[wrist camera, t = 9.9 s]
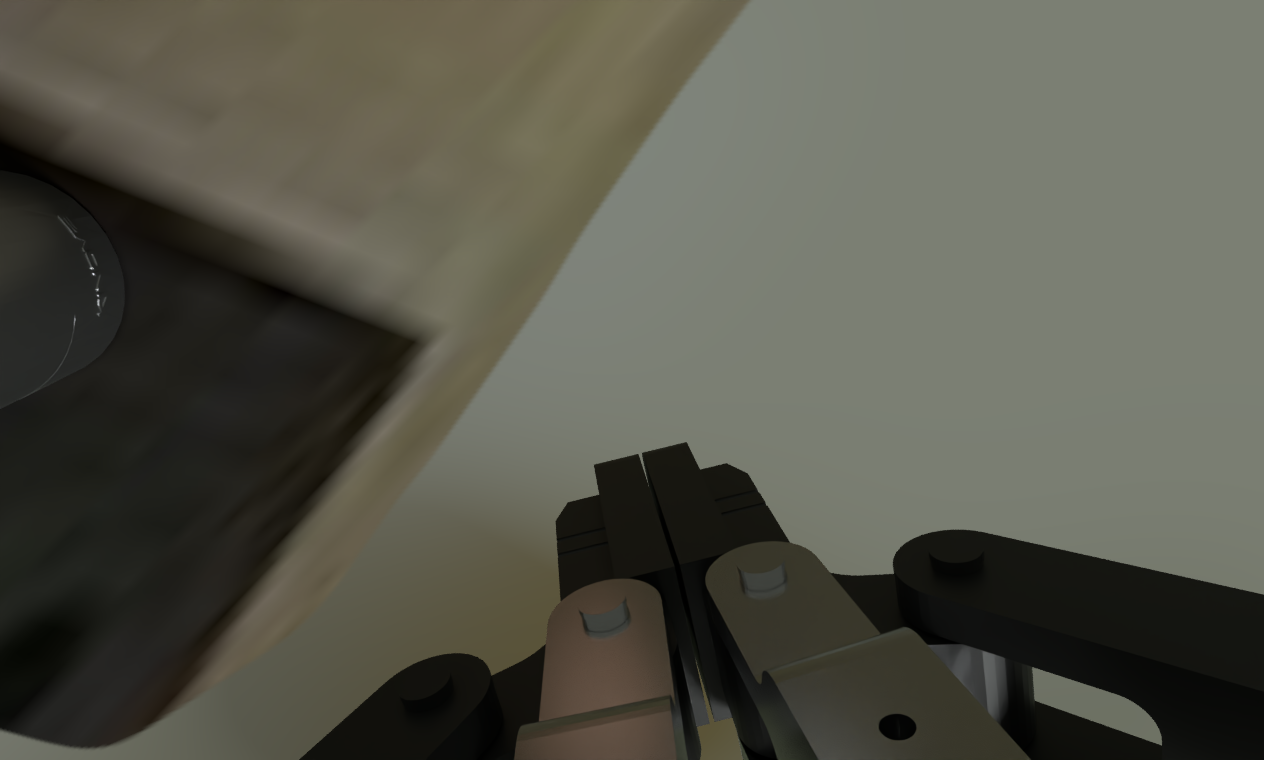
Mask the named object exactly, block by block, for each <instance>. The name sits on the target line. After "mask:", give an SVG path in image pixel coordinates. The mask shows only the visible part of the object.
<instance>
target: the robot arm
mask: <svg viewBox="0 0 1264 760" xmlns="http://www.w3.org/2000/svg"><path fill="white" fill-rule="evenodd" d="M124 303H125V292H124V278H123V274H122V271H121V267H120V263H119V260H118V256H117V255H116V253H115V251H114V249H113V247H112V245H111V243H110V241H109V239H108V237H107V235H106V234H105V232H104V231H103V230H102V229H101V227H100V226H99V225H98V223H97V222H96V221H95V219H94V218H93V217H92V216H91V215H90V214H89V213H88V212H87V211H86V210H85V209H84V208H83V207H81V206H80V205H79V204H78V203H77V202H76V201H75V200H74V199H73V198H71V197H69V196H68V195H66V194H65V193H63V192H61V191H60V190H58V189H57V188H55V187H53V186H52V185H50V184H48V183H45V182H43V181H40V180H38V179H35V178H33V177H30V176H28V175H23V174H18V173H13V172H8V171H3V170H0V409H1V408H3V407H5V406H7V405H9V404H11V403H13V402H15V401H17V400H19V399H22V398H24V397H26V396H28V395H30V394H32V393H34V392H36V391H38V390H40V389H42V388H44V387H46V386H48V385H50V384H52V383H54V382H56V381H58V380H60V379H62V378H64V377H66V376H68V375H70V374H72V373H74V372H76V371H78V370H80V369H82V368H84V367H86V366H87V365H88V364H90V363H91V362H92V361H93V360H95V359H96V358H97V357H99V356H100V355H101V354H102V353H103V352H104V350H105V349H106V348H107V346H108V345H109V344H110V343H111V341H112V340H113V339H114V336H115V334H116V332H117V330H118V327H119V325H120V323H121V320H122V315H123V309H124ZM642 457H643V461H644V466H645V471H646V476H647V479H646V476H645V473H644V470H643V467H642V464H641V461H640V458H639V455H638V454H636V455H632V456H628V457H624V458H620V459H616V460H611V461H607V462H603V463H599V464H595V465H594V468H595V474H596V479H597V485H598V490H599V495H596V496H593V497H588V498H584V499H580V500H576V501H572V502H568V503H567V505H566V506H565V508H564V509H563V511H562V512H561V514H560V515H559V517H558V518H557V520H556V535H557V551H558V567H559V582H560V597H561V602H560V603H559V604H558V605H557V606H556V607H555V609H554V610H553V611H552V613H551V615H550V617H549V620H548V627H547V638H546V644H545V645H544V646H543V647H542V648H540V649H539V650H538V651H537V652H535V653H534V654H532V655H531V656H530V657H528V658H526V659H525V660H523V661H521V662H519V663H517V664H515V665H513V666H511V667H509V668H507V669H505V670H503V671H501V672H499V673H496V674H495V675H492V676H491V673H490V670H489V668H488V666H487V665H486V664H485V662H484V661H483V660H481V659H479V658H478V657H475V656H472V655H469V654H461V653H453V654H444V655H439V656H435V657H431V658H428V659H425V660H422V661H420V662H417V663H415V664H413V665H411V666H409V667H407V668H406V669H404V670H402V671H400V672H399V673H398V674H396V675H394V676H393V677H392V678H391V679H389V680H388V681H387V682H386V683H385V684H383V685H382V686H381V687H380V688H379V689H378V690H377V691H376V692H374V693H373V694H372V695H371V696H370V697H369V698H368V699H367V700H365V701H364V702H363V703H362V704H361V705H360V706H359V707H358V708H357V709H355V710H354V711H353V712H352V713H351V714H350V715H349V716H348V717H346V718H345V719H344V720H343V721H342V722H341V723H340V724H339V725H338V726H336V727H335V728H334V729H333V730H332V731H331V732H330V733H329V734H327V735H326V736H325V737H324V738H323V739H322V740H321V741H320V742H319V743H317V744H316V745H315V746H314V747H313V748H312V749H311V750H309V751H308V752H307V753H306V754H305V755H304V756H303V757H302V758H300V759H299V760H700V757H701V744H700V739H699V734H698V730H697V727H698V726H702V725H706V724H709V718H708V714H707V710H706V705H705V701H704V696H703V692H702V687H701V683H700V678H699V674H698V669H699V672H700V675H701V679H702V682H703V685H704V689H705V692H706V695H707V698H708V701H709V705H710V708H711V711H712V715H713V718H714V721H715V722H716V721H720V720H723V719H727V718H731V717H732V718H733V721H734V724H735V727H736V730H737V734H738V739H739V743H740V748H741V753H742V758H743V760H1264V595H1263V594H1258V593H1254V592H1249V591H1245V590H1240V589H1236V588H1231V587H1227V586H1222V585H1218V584H1213V583H1209V582H1204V581H1200V580H1195V579H1191V578H1186V577H1182V576H1177V575H1173V574H1168V573H1164V572H1159V571H1155V570H1150V569H1146V568H1141V567H1137V566H1133V565H1128V564H1124V563H1119V562H1115V561H1110V560H1106V559H1101V558H1097V557H1092V556H1088V555H1083V554H1078V553H1074V552H1069V551H1065V550H1060V549H1055V548H1051V547H1047V546H1043V545H1038V544H1033V543H1029V542H1024V541H1019V540H1016V539H1011V538H1006V537H1002V536H998V535H993V534H988V533H984V532H978V531H971V530H943V531H937V532H931V533H928V534H924V535H921V536H919V537H916V538H914V539H912V540H910V541H909V542H907V543H905V544H904V545H903V546H902V547H900V549H899V550H898V551H897V552H896V554H895V556H894V559H893V569H894V574H884V575H864V576H851V575H840V574H834V573H830V572H829V571H828V570H827V568H826V567H825V566H824V565H823V564H822V562H821V561H820V560H819V559H818V558H817V556H816V555H815V554H813V553H812V552H811V551H810V550H808V549H806V548H804V547H802V546H800V545H796V544H793V543H790V542H789V540H788V539H787V537H786V535H785V534H784V532H783V530H782V529H781V527H780V525H779V524H778V522H777V521H776V519H775V517H774V516H773V514H772V512H771V511H770V509H769V508H768V506H766V504H765V501H764V499H763V498H762V496H761V494H760V493H759V492H758V490H757V488H756V486H755V485H754V483H753V482H752V480H751V478H750V477H749V475H748V474H747V473H745V472H743V471H741V470H739V469H737V468H735V467H733V466H731V465H728V464H727V463H726V464H722V465H718V466H714V467H709V468H705V469H701V470H700V469H699V467H698V465H697V463H696V461H695V459H694V456H693V454H692V452H691V450H690V448H689V446H688V444H687V442H685V443H681V444H676V445H673V446H668V447H665V448H660V449H656V450H652V451H648V452H644V453H642ZM647 480H648V482H647ZM648 484H649V486H648ZM695 659H696V660H695ZM696 662H697V665H696ZM697 666H698V669H697ZM1032 667H1034V668H1038V669H1040V670H1043V671H1046V672H1050V673H1053V674H1056V675H1059V676H1062V677H1065V678H1068V679H1071V680H1074V681H1078V682H1080V683H1083V684H1086V685H1090V686H1093V687H1096V688H1099V689H1102V690H1105V691H1108V692H1111V693H1114V694H1117V695H1120V696H1122V697H1125V698H1127V699H1129V700H1131V701H1133V702H1134V703H1136V704H1137V705H1139V706H1140V707H1141V708H1142V709H1144V710H1145V711H1146V712H1147V713H1148V714H1149V715H1150V716H1151V717H1152V719H1153V720H1154V721H1155V722H1156V724H1157V726H1158V728H1159V730H1160V733H1161V736H1162V746H1161V745H1159V744H1156V743H1153V742H1150V741H1147V740H1144V739H1142V738H1139V737H1136V736H1133V735H1130V734H1127V733H1124V732H1122V731H1119V730H1116V729H1113V728H1110V727H1107V726H1104V725H1102V724H1099V723H1096V722H1093V721H1090V720H1088V719H1085V718H1082V717H1079V716H1076V715H1073V714H1070V713H1068V712H1065V711H1062V710H1059V709H1056V708H1054V707H1051V706H1048V705H1045V704H1042V703H1039V702H1037V701H1034V687H1033V673H1032Z"/></svg>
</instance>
